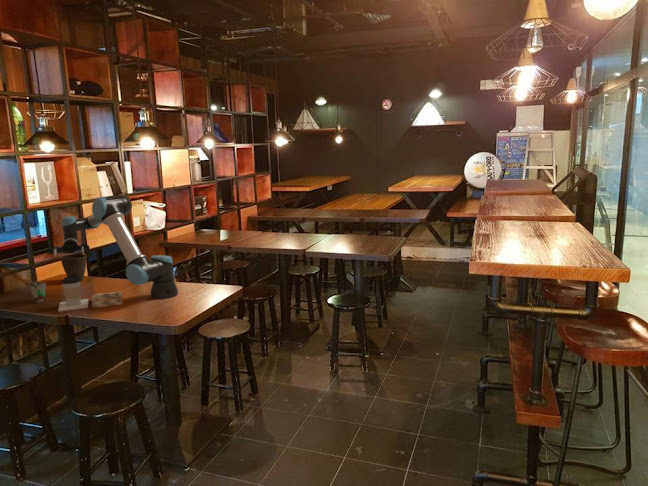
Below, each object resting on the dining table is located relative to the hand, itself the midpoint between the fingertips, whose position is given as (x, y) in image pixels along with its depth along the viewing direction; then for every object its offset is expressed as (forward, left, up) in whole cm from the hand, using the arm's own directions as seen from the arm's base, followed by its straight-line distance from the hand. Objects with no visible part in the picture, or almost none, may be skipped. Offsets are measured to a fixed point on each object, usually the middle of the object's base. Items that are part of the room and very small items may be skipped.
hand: (68, 252), depth 270 cm
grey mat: (-6, +8, -28) cm, 29 cm away
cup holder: (-20, -1, -28) cm, 34 cm away
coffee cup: (-6, +8, -27) cm, 29 cm away
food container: (+19, +2, -28) cm, 34 cm away
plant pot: (+27, -38, -28) cm, 55 cm away
